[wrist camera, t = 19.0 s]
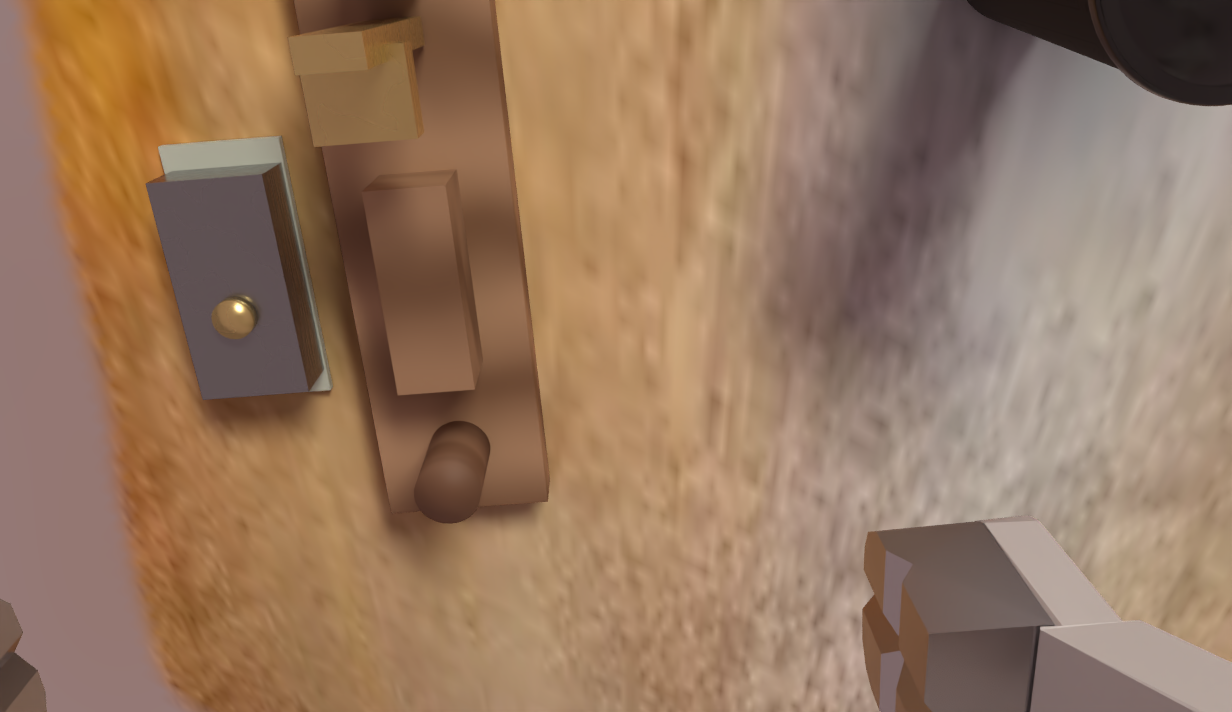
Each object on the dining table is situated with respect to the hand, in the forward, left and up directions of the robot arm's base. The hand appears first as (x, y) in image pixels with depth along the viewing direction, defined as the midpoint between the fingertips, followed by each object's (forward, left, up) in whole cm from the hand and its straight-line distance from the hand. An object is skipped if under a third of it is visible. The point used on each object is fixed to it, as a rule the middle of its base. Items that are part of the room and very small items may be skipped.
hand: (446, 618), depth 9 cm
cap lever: (+3, +6, -29) cm, 30 cm away
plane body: (-4, +5, -31) cm, 32 cm away
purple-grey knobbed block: (-5, +13, -31) cm, 34 cm away
